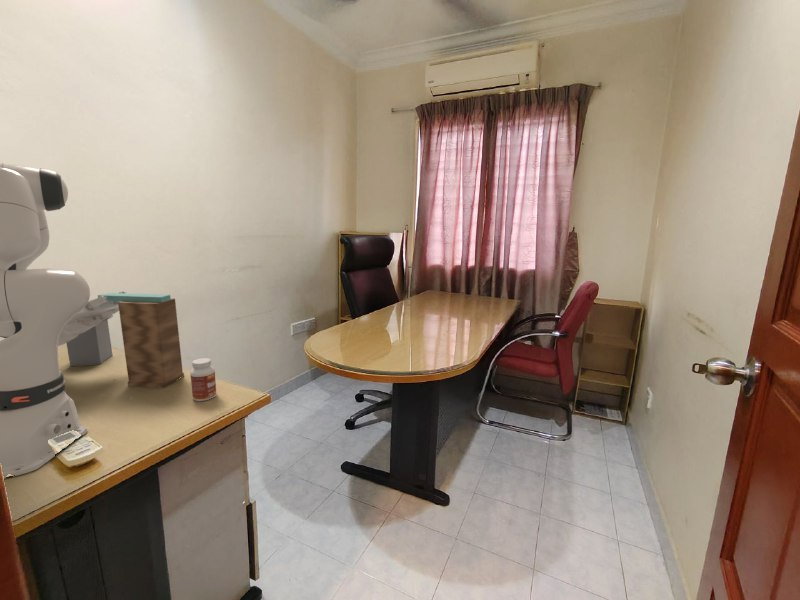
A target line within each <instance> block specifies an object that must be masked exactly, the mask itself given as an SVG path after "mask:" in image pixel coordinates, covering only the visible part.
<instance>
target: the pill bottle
mask: <svg viewBox="0 0 800 600" xmlns="http://www.w3.org/2000/svg"><path fill="white" fill-rule="evenodd" d="M191 363H192V364H191V365H192V369H190V375H189V376H190V384H191V393H192V395H191V396H192V400H194V401H196V402H204V401H209V399H210V400H212V399H214V398H215V397H216V396H217V385H216V384H217V383H216V382H217V381H216V371H215V368H214V366H212V360H211V358H208V357H207V358H206V357H203V358H202V357H201V358H197V359H194V360H192V362H191ZM213 397H214V398H213ZM211 398H212V399H211Z"/></svg>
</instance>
